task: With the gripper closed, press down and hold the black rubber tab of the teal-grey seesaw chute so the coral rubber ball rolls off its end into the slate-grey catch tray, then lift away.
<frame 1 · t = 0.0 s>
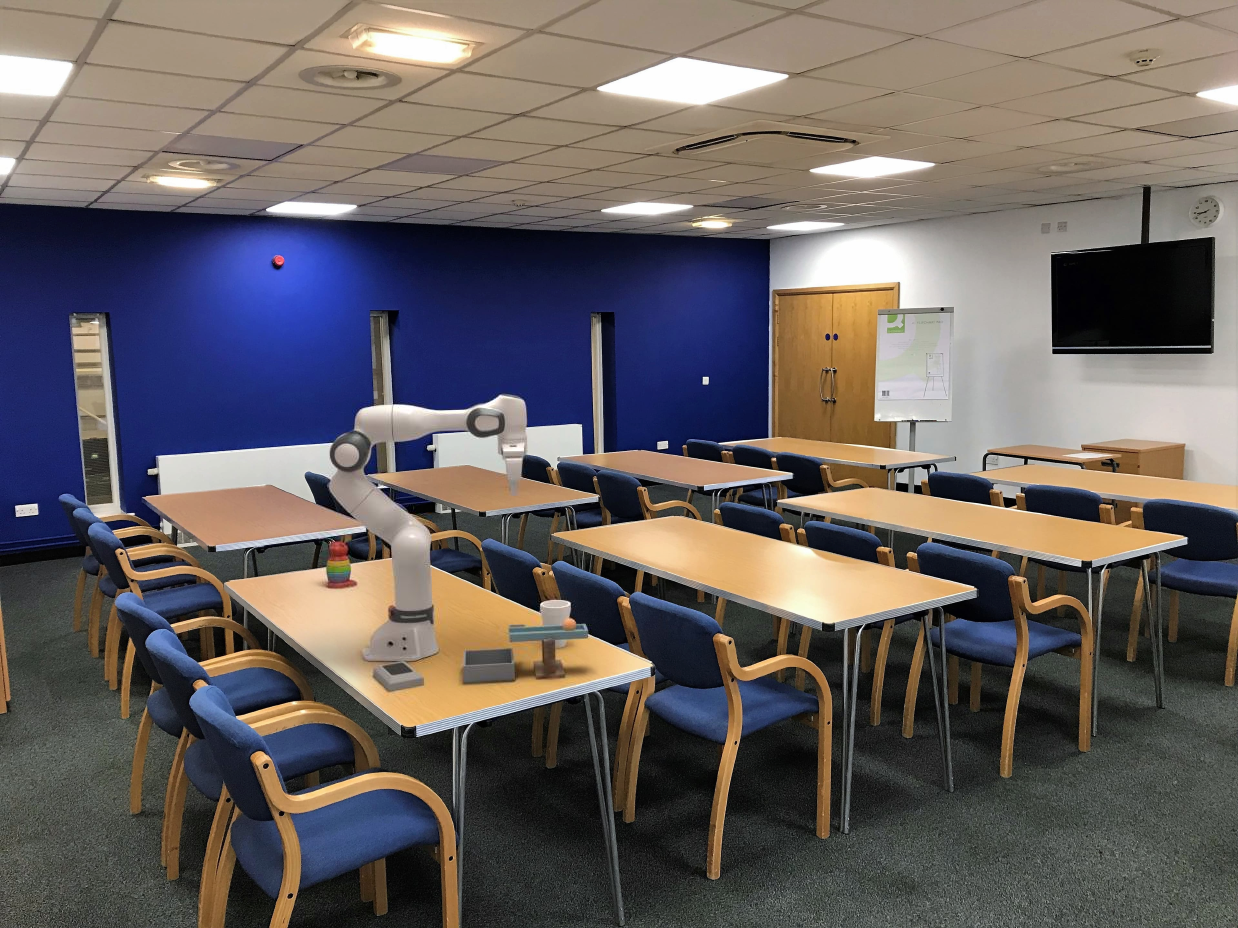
hand: (513, 493, 282), 48 cm above the table, tool pointing down, fingers open, 8 cm apart
foam cup: (556, 645, 290), on the table
stacking bear: (340, 586, 367), on the table
catch tray: (488, 673, 263), on the table
ball: (569, 625, 265), point 13 cm above the table, touching chute lever
pivot stand: (548, 670, 265), on the table
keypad: (398, 682, 258), on the table
chute lever: (547, 629, 267), point 11 cm above the table, hinge at 0.0°, touching ball
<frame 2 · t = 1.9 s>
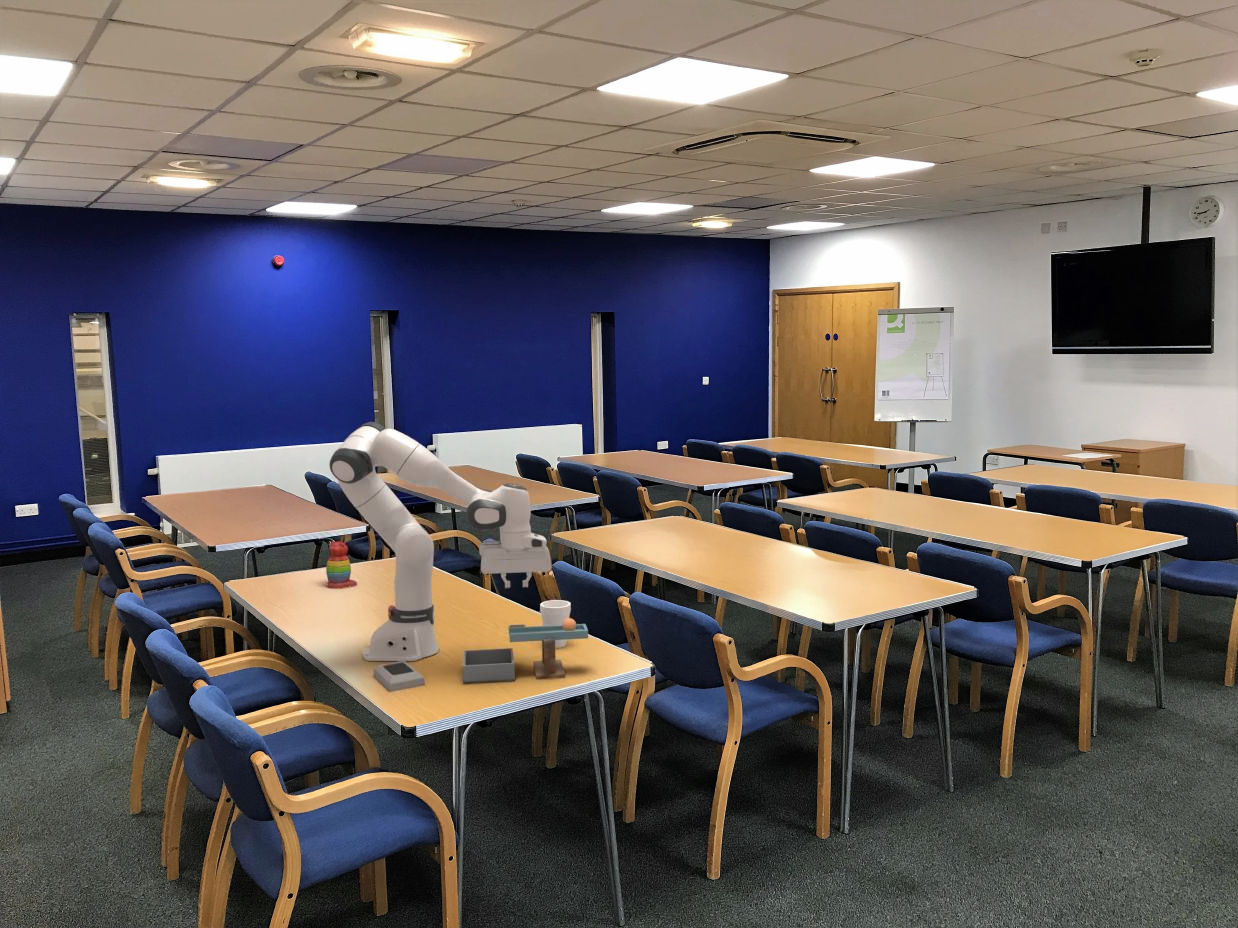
hand: (516, 587, 268), 23 cm above the table, tool pointing down, fingers open, 4 cm apart
nothing on the table moved.
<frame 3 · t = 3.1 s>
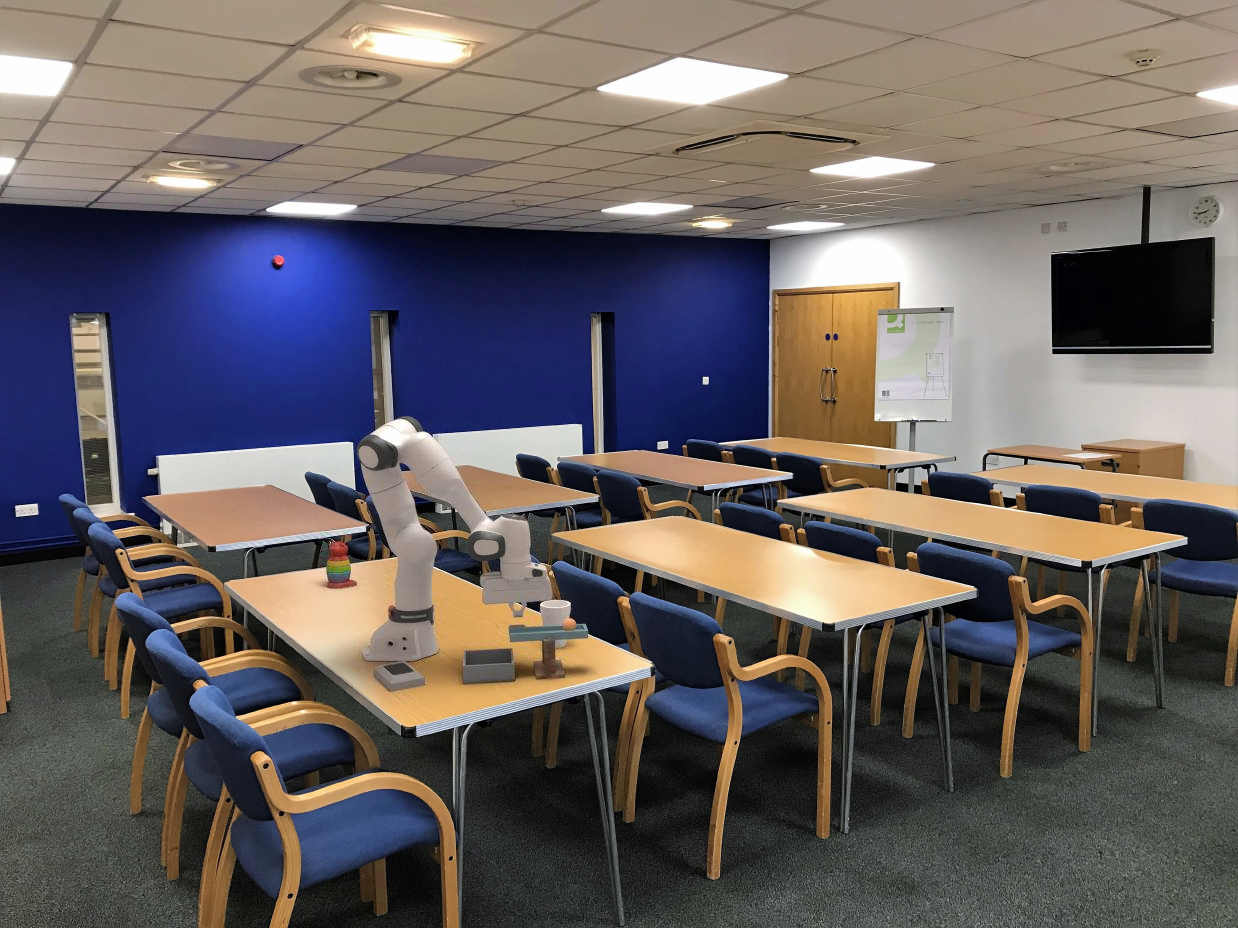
hand: (518, 616, 269), 14 cm above the table, tool pointing down, fingers closed
nothing on the table moved.
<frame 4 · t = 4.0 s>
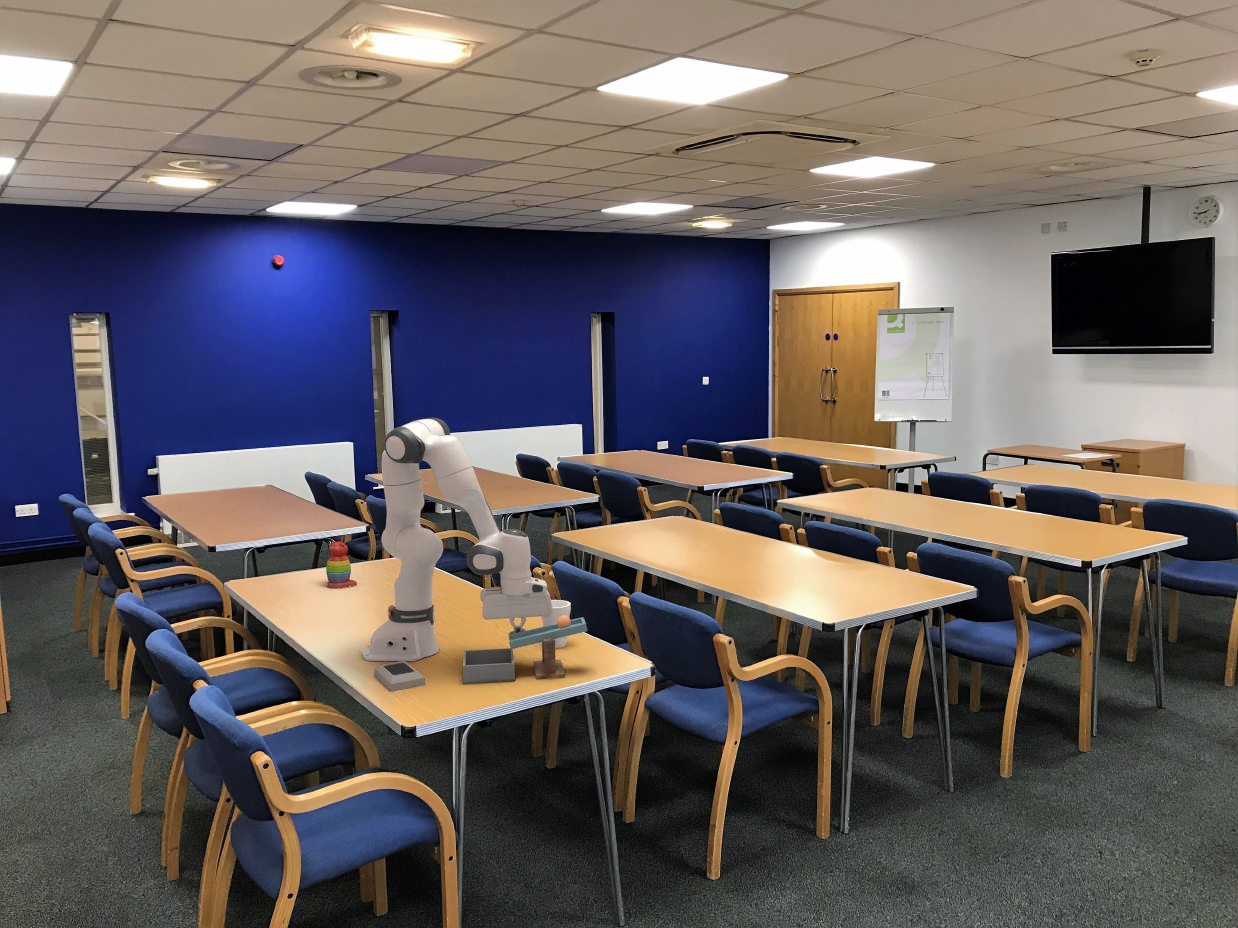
hand: (518, 631, 269), 10 cm above the table, tool pointing down, fingers closed, pressing on chute lever
ball: (563, 622, 265), point 14 cm above the table, tilted 36°, touching chute lever
chute lever: (546, 629, 267), point 11 cm above the table, hinge at 11.0°, touching ball, gripper
everything else where it was.
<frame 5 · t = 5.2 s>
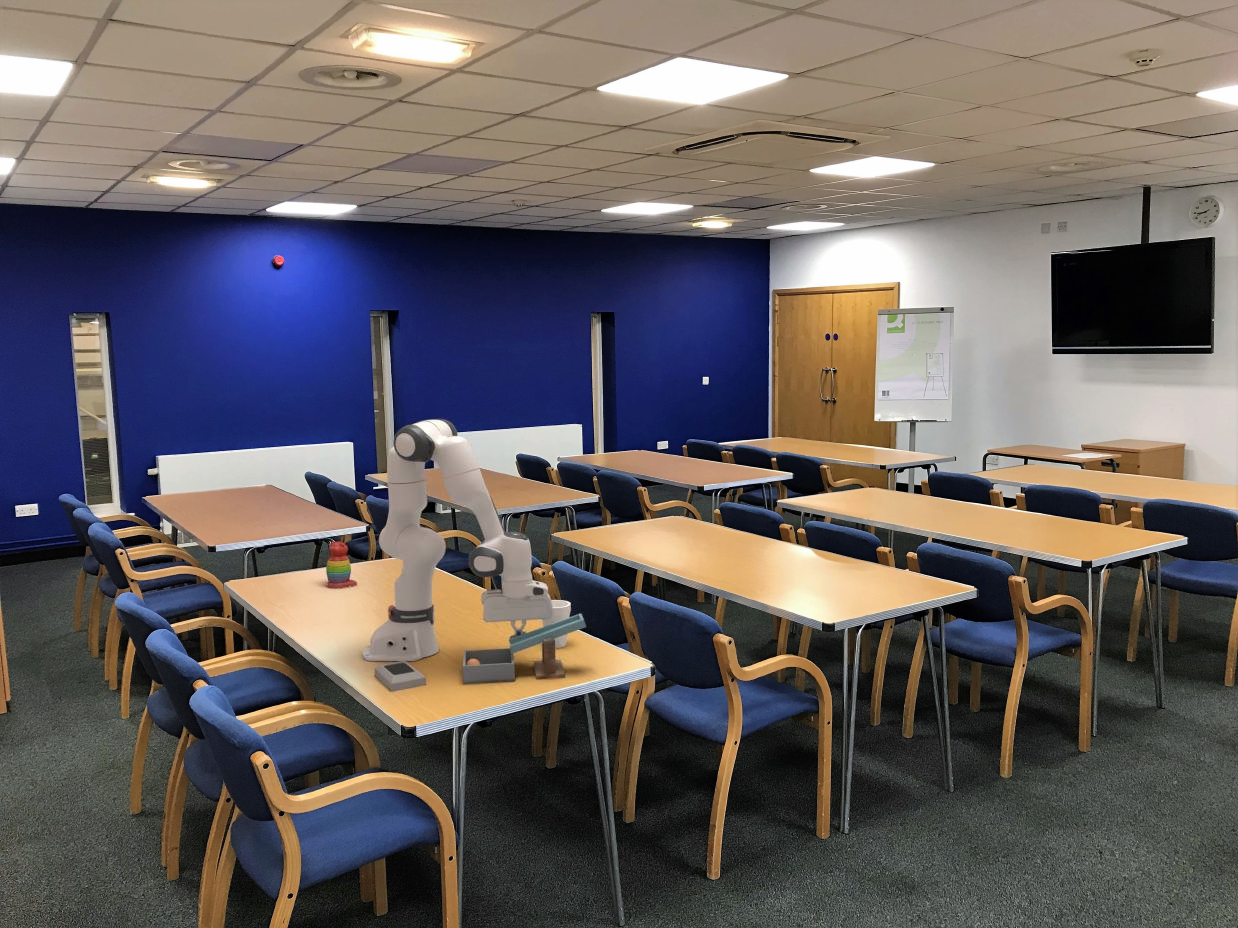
hand: (518, 634, 269), 9 cm above the table, tool pointing down, fingers closed
ball: (473, 665, 262), point 3 cm above the table, tilted 99°, touching catch tray
chute lever: (546, 630, 267), point 11 cm above the table, hinge at 17.7°, touching gripper
everything else where it was.
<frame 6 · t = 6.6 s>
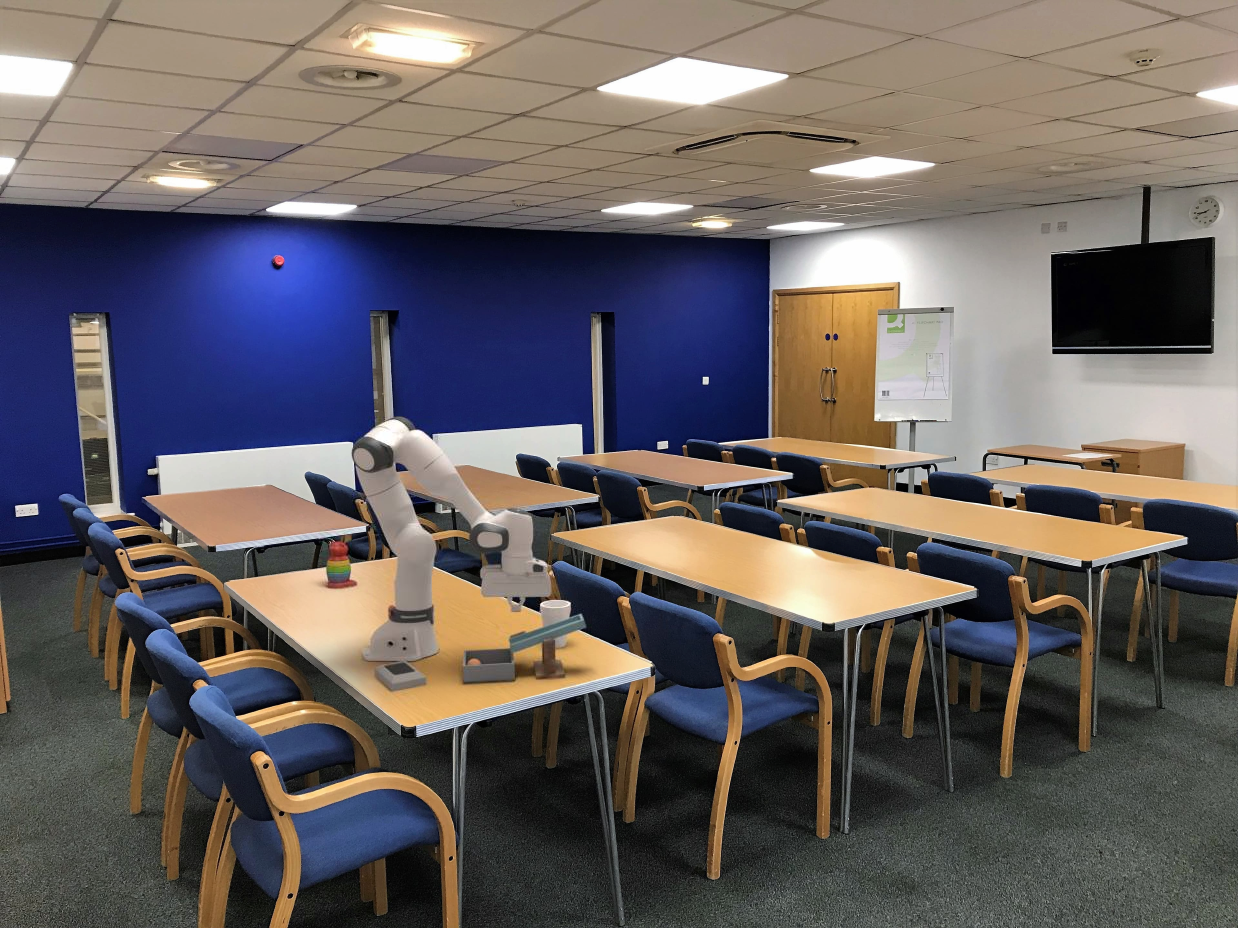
hand: (515, 611, 269), 16 cm above the table, tool pointing down, fingers closed
ball: (473, 665, 262), point 3 cm above the table, tilted 93°, touching catch tray
chute lever: (546, 630, 267), point 11 cm above the table, hinge at 17.1°
everything else where it was.
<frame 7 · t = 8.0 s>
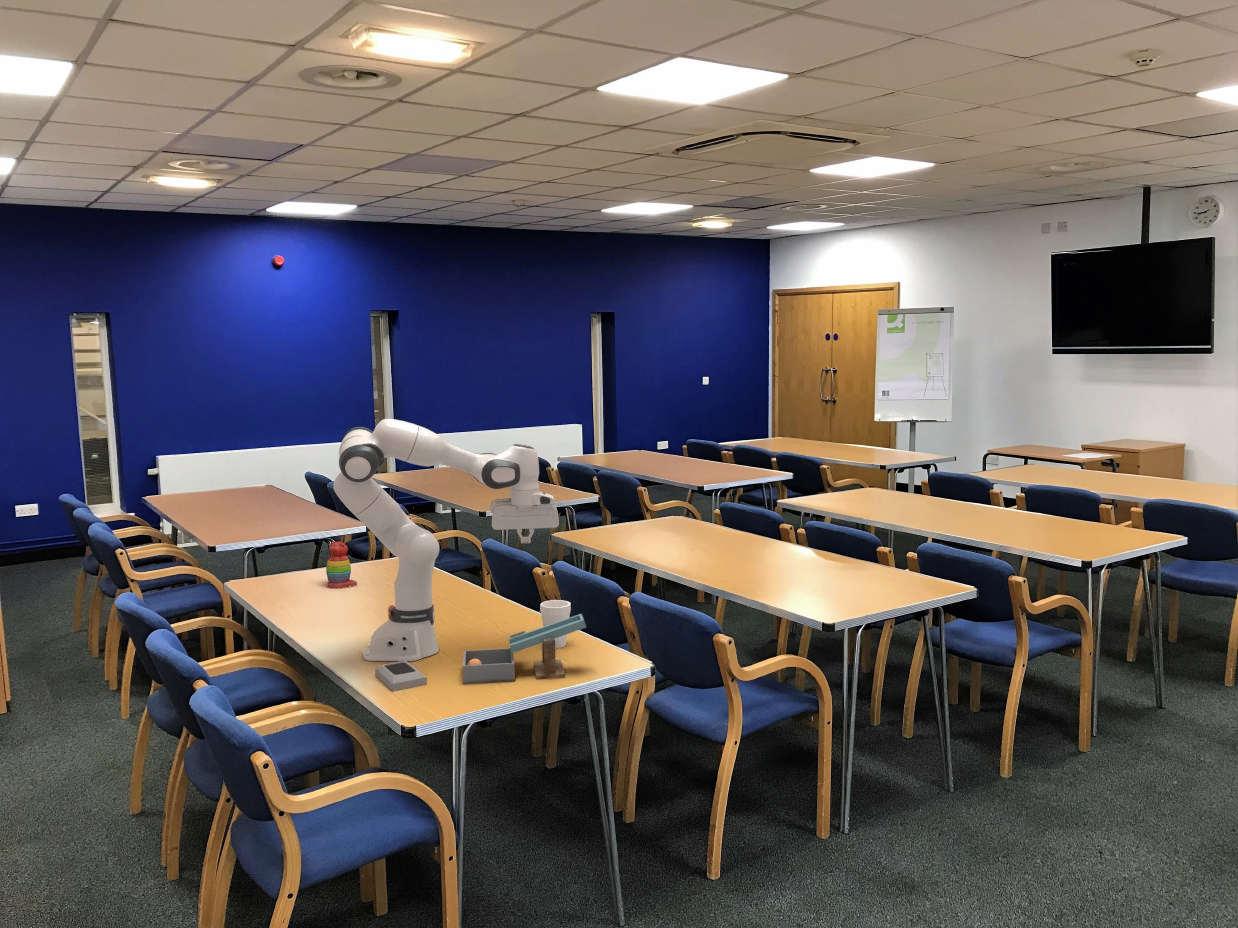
hand: (525, 543, 281), 33 cm above the table, tool pointing down, fingers closed
ball: (474, 665, 262), point 3 cm above the table, tilted 87°, touching catch tray
everything else where it was.
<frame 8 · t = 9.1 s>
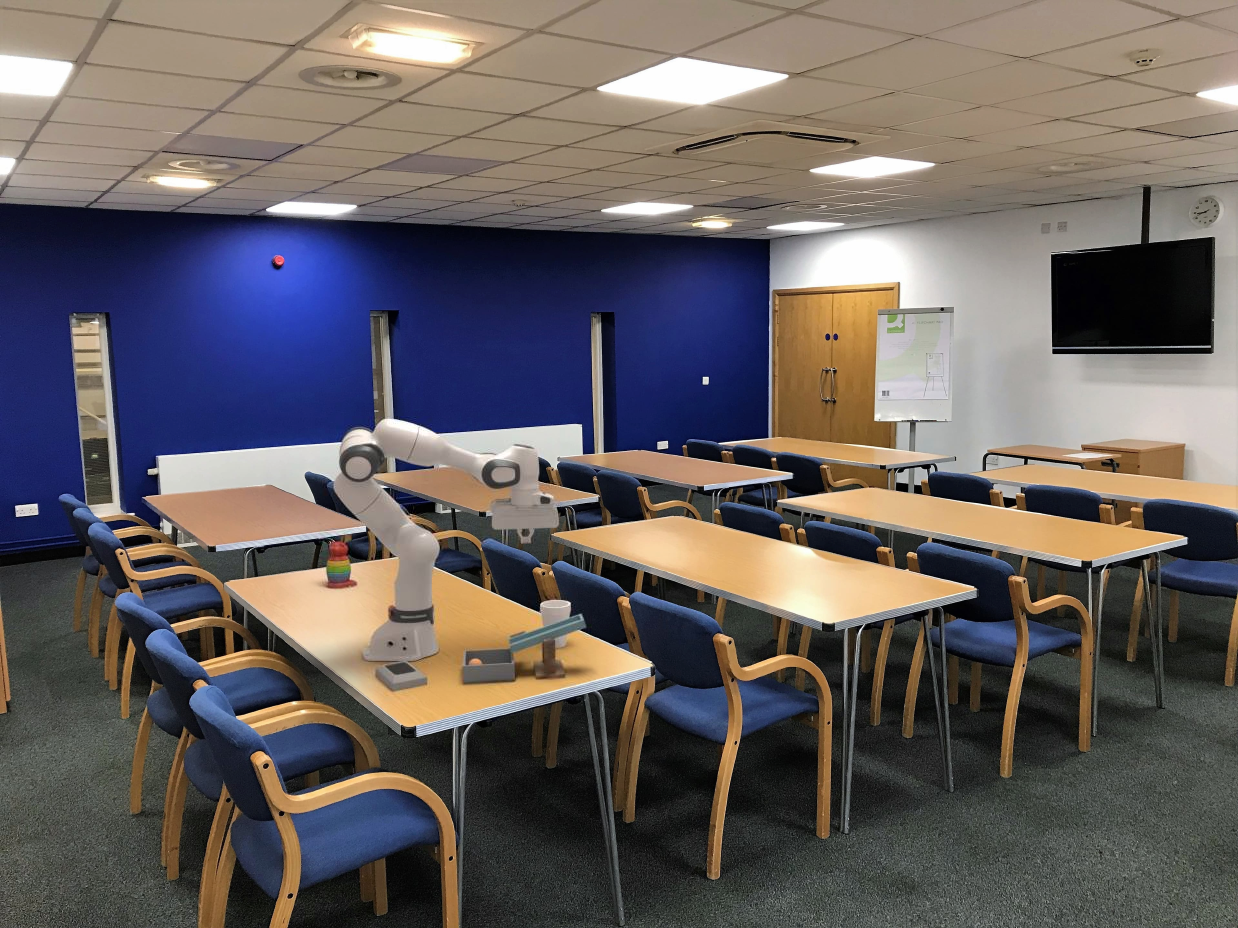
hand: (525, 543, 282), 33 cm above the table, tool pointing down, fingers closed
nothing on the table moved.
at the end: ball inside the target area on the catch tray (3.7 cm from its centre), point 2.6 cm above the catch tray's base; ball moved 28.7 cm from its start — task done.
